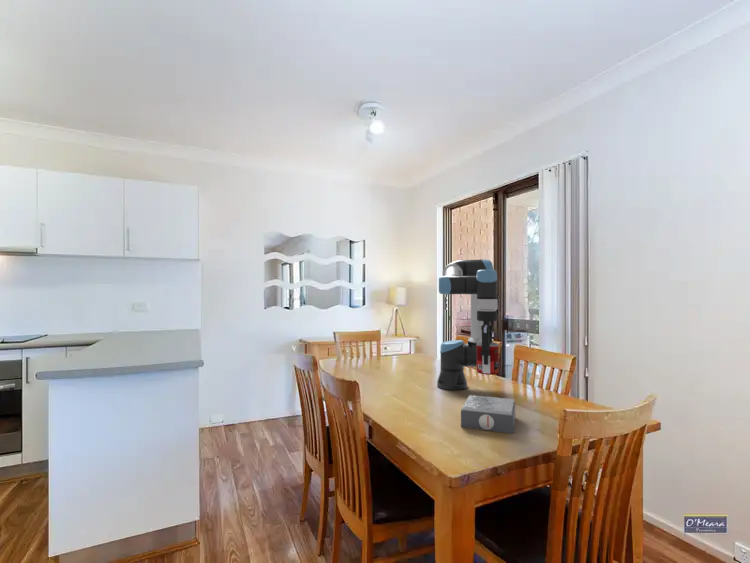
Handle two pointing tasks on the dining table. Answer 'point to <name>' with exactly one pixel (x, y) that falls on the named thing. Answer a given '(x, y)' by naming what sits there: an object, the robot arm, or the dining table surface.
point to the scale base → (488, 421)
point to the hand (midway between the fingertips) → (487, 370)
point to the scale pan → (489, 405)
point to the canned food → (493, 358)
